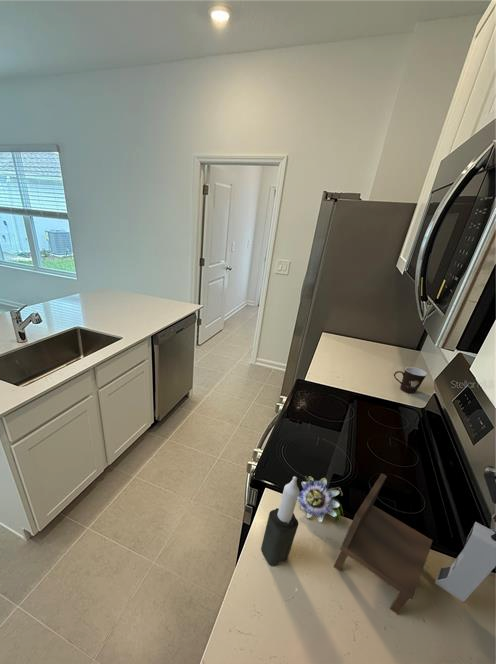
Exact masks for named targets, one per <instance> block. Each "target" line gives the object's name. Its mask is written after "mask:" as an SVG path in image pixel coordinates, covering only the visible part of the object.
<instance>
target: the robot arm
mask: <svg viewBox="0 0 496 664" xmlns="http://www.w3.org/2000/svg"><path fill="white" fill-rule="evenodd" d="M483 477H484V480H485V483H486V486H487V489H488V492H489V496H490V498H491V501H492V503H493V504H495V505H496V468H495V467H494V466H492V465H486V466H485V468H484V472H483ZM494 523H496V513H495V514H494Z"/></svg>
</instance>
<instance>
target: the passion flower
mask: <svg viewBox="0 0 496 664" xmlns="http://www.w3.org/2000/svg"><path fill="white" fill-rule="evenodd" d="M304 478H305V481H301V482H300V483H301V486H302V490H301V491H299V495H298V498H297V501H298V502H299V504H300V505H299V510H300V511H304V512H305V518H306V519H311V518H312V517H313V516H315V517H316V520H317V521H318V522H319V523H322V522H323V521H324V519H325V516H326V515H329V516H331V517H332V518H334V521H335V522H336V521H337V522H338V521H340V520H341V517H344V508H343V505H342V503H341V502H340V501H339V500H338V499H337V498H336V497H337V496H338V495H340V497H343V496H344V493H343V491H342V488H341V487H339V486H338V487H332V488H328V487H327V485H328V479H327V478H326V477H322V478H320V480H315V479H314V478H313V477H312V476H310V475H309V476H307V475H304ZM337 489H338V490H337Z"/></svg>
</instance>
